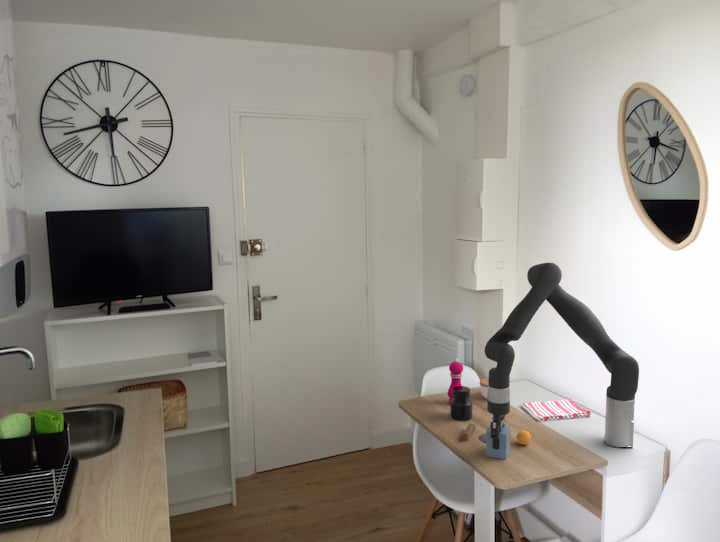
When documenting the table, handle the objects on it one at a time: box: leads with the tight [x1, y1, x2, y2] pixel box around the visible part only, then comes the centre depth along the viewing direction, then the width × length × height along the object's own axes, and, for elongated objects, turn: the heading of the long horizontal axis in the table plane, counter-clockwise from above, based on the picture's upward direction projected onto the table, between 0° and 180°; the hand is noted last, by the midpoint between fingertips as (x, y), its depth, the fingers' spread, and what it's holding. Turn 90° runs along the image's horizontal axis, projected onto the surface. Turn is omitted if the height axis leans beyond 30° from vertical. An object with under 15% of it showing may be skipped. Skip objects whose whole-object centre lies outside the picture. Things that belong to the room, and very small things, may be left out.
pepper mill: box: [447, 358, 464, 405], centre depth 241 cm, size 7×7×20 cm
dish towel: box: [520, 398, 592, 423], centre depth 231 cm, size 17×23×4 cm
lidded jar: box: [479, 377, 488, 400], centre depth 247 cm, size 11×11×9 cm
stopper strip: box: [462, 423, 476, 442], centre depth 210 cm, size 2×10×2 cm, turn 155°
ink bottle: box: [449, 385, 474, 422], centre depth 227 cm, size 10×9×12 cm
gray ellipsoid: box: [478, 433, 486, 444], centre depth 207 cm, size 8×8×1 cm
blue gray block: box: [485, 423, 511, 460], centre depth 194 cm, size 7×7×9 cm
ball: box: [516, 429, 532, 446], centre depth 202 cm, size 5×5×5 cm
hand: (497, 444), depth 195 cm, fingers closed on blue gray block, 7 cm apart
